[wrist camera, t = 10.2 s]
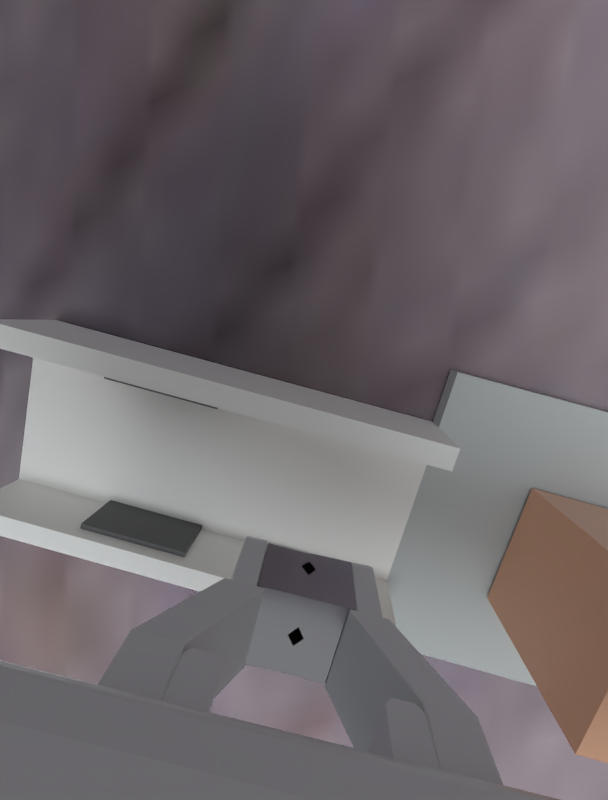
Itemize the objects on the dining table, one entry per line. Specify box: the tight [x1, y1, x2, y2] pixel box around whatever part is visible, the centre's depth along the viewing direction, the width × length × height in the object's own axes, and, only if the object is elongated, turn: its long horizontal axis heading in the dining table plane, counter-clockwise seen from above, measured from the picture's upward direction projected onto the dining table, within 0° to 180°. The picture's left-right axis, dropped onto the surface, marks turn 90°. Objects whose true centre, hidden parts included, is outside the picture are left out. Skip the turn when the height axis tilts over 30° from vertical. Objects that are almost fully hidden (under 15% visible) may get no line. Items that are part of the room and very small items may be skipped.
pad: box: [387, 370, 608, 686], centre depth 16 cm, size 12×10×1 cm
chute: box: [0, 319, 460, 626], centre depth 15 cm, size 8×16×4 cm, turn 75°
